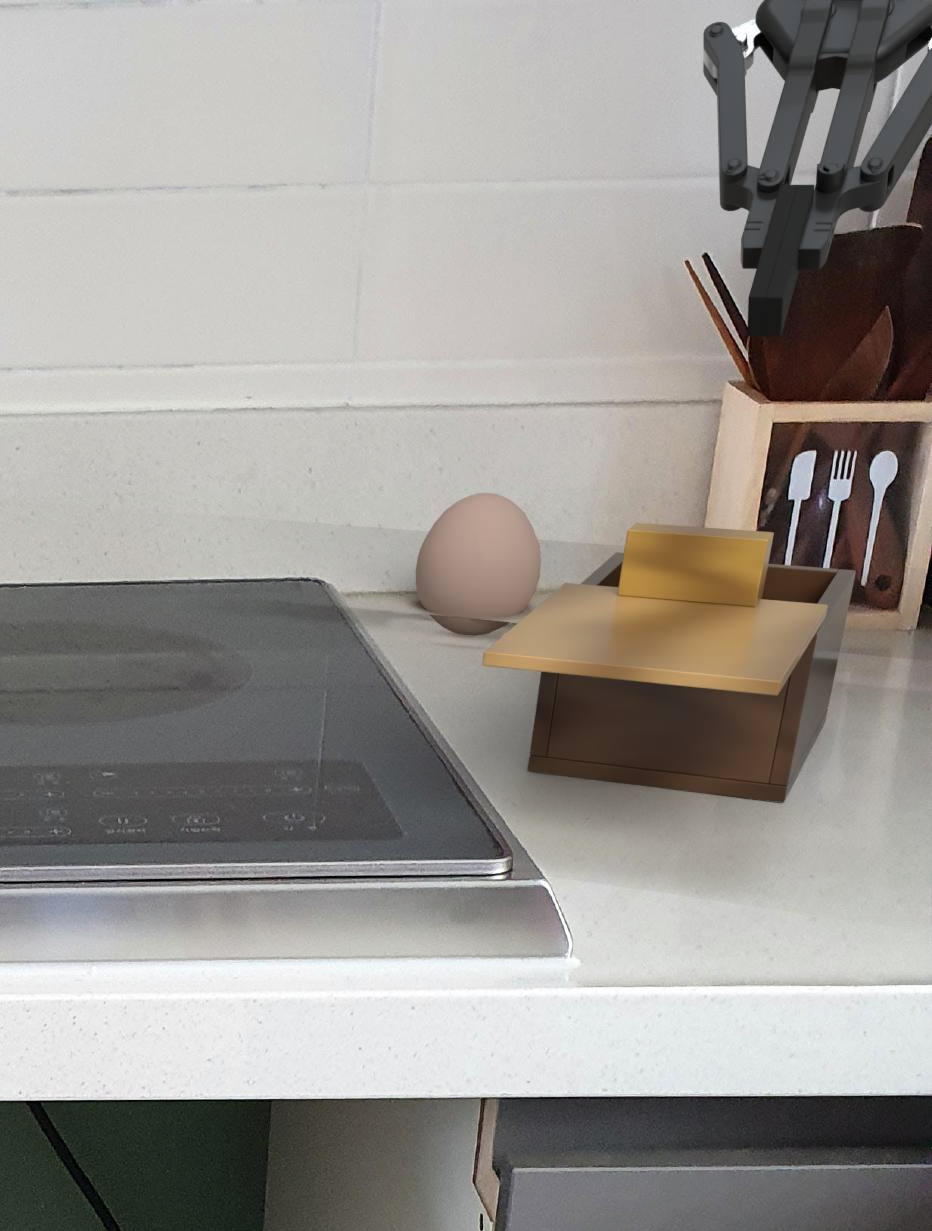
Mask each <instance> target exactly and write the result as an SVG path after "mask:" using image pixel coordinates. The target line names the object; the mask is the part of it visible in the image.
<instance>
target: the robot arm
mask: <svg viewBox="0 0 932 1231" xmlns="http://www.w3.org/2000/svg"><path fill="white" fill-rule="evenodd" d="M754 17H755V18H753V19H750V20H748V21H746V22H744V23H741V24H739V25H738V26H735V27H733V28H731V26H730V25H729V24H728V23H727V22H724V21H716V22H713V23H711V24H708V25H707V26H706V27H705V29H704V31H703V36H702V37H703V38H702V40H703V41H702V42H703V49H702V50H703V52H702V55H703V56H702V58H703V59H702V60H703V61H702V65H703V66H702V72H703V76H704V77H705V79H706V81H707V82H708V84H709V86H710V88H711V89H712V91H713V92H714V94H715V96H716V108H717V110H716V111H717V113H716V114H717V143H718V144H717V146H718V181H719V182H718V184H719V187H718V188H719V205H720V208H721V209H722V210H724V211H726V212H735V211H738V210H740V209H744V210H746V211H748V214H747V217H746V221H745V224H744V228H743V231H742V235H741V238H740V264H741V268H742V269H744V270H748V269H750V270H755V272H754V277H753V279H752V283H751V287H750V291H749V295H748V298H747V300H748V302H747V303H748V304H747V329H746V330H747V331H746V332H747V333H746V336H747V337H754V338H755V337H756V338H782V334H783V331H784V327H785V322H786V320H787V317H788V313H789V309H790V306H791V301H792V298H793V295H794V291H795V287H796V284H797V280H798V278H799V277H798V276H799V273H800V271H820V270H821V269H822V268H823V267H824V265H825V264H826V263H827V261H828V260H827V259H828V256H829V253H830V249H831V245H832V242H833V239H834V235H835V231H836V227H837V223H838V221H839V219H840V218H841V216H842V215H844V214H845V213H847V212H849V211H851V210H855V209H859V210H860V211H862V212H865V213H872V212H876V211H878V210H880V209H881V208H882V207H883V206H884V205H885V204H886V202H887V200H888V199H889V197H890V195H891V194H892V192H893V190H894V188H895V187H896V185H897V184H898V182H899V181H900V179H901V177H902V175H903V174H904V172H905V170H906V168H907V167H908V166H909V164H910V162H911V160H912V158H913V157H914V155H915V154H916V152H917V150H918V149H919V147H920V145H921V143H922V142H923V140H924V139H925V137H926V135H927V133H928V132H929V130H930V128H931V126H932V0H762V2H761V3H760V4H759V6H758V7H757V10H756V13H755V16H754ZM926 46H927V48H926V49H927V50H926V55H925V56H924V58H923V59H922V61H921V63H920V65H919V66H918V68H917V70H916V72H915V73H914V75H913V76H912V78H911V80H910V81H909V83H908V85H907V86H906V87H905V90H904V91H903V93H902V95H901V96H900V98H899V100H898V101H897V103H896V105H895V106H894V108H893V110H892V111H891V113H890V115H889V116H888V118H887V120H886V121H885V123H884V124H883V126H882V128H881V129H880V131H879V133H878V134H877V136H876V138H875V140H874V141H873V143H872V144H871V146H870V147H869V149H868V151H867V153H866V155H865V156H864V158H863V160H862V161H861V164H860V165H858V166H855V164H856V160H857V155H858V152H859V148H860V144H861V142H862V137H863V134H864V129H865V126H866V123H867V118H868V114H869V113H870V112H871V109H872V105H873V102H874V98H875V94H876V91H877V87H878V83H879V82H881V81H883V80H885V79H886V78H888V77H889V76H890V75H892V74H893V73H894V72H895V71H897V70H898V69H899V68H900V67H901V66H903V65H904V64H906V63H907V61H909V60H910V59H911V58H912V57H914V56H915V55H917V53H918V52H920V51H922V50H923V49H924V48H925V47H926ZM759 48H760V49H761V51H762V53H763V54H764V55H765V56H766V58H767V59H768V60H769V62H770V63H771V65H772V66H773V67H774V69H775V71H776V72H777V73H778V75H779V76H780V77H781V79H782V80H783V81H784V83H783V87H782V90H781V93H780V97H779V100H778V104H777V107H776V110H775V114H774V118H773V121H772V124H771V128H770V131H769V135H768V138H767V142H766V144H765V148H764V151H763V155H762V159H761V162H760V166H759V167H757V166H756V167H755V166H752V165H750V164H749V161H748V160H749V158H748V157H749V156H748V129H747V128H748V127H747V96H746V94H747V93H746V76H747V75H748V74H747V73H748V71H749V69H751V67H753V65H754V62H755V52H756V50H757V49H759ZM830 89H831V90H832V89H835V90H839V93H838V96H837V100H836V103H835V106H834V111H833V114H832V117H831V121H830V125H829V129H828V132H827V136H826V140H825V143H824V147H823V151H822V154H821V158H820V161H819V163H816V176H815V184H792V181H793V177H794V174H795V171H796V167H797V165H798V160H799V158H800V153H801V150H802V147H803V143H804V140H805V136H806V133H807V129H808V127H809V123H810V118H811V116H812V114H813V113H814V110H815V107H816V105H817V101H818V98H819V94H820V92H821V91H826V90H830Z"/></svg>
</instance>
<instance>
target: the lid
mask: <svg viewBox="0 0 932 1231" xmlns="http://www.w3.org/2000/svg"><path fill="white" fill-rule="evenodd" d="M774 535H775V533H774V532H772V531H760V530H745V529H732V528H716V527H703V526H689V525H688V526H687V525H674V524H659V523H646V522H645V523H644V522H635V523H634V524H633V525H632V526H631V527H630V528H628V529H627V530H626V536H625V543H624V550H623V553H624V555H623V562H622V568H621V575H620V581H619V587H609V586H597V585H585V584H581V583H573V582H572V583H570V582H564V583H563V584H562V585H561V586H559V587H558V588H557V589H556V590H555V591H553V592H552V593H551V594H550V595H549V596H548V597H546V598H545V599H544V600H543V601H542V602H541V603H539V604H538V605H537V606H536V607H534V609H532V611H530V612H529V613H528V614H526V615H525V617H523V618H522V619H521V620H520V621H519V622H517V624H515V625H514V626H513V627H511V629H509V630H508V631H507V632H506V633H504V634H503V635H502V636H501V637H500V638H499V639H497V641H496V642H495V643H493V644H491V646H490V647H488V648H487V649H486V650H485V651H484V652H483V655H482V656H483V657H482V666H483V667H484V666H485V667H492V668H502V669H512V670H523V671H531V672H532V671H533V672H540V673H541V672H550V673H560V674H570V675H580V676H589V677H599V678H609V679H619V680H628V681H638V682H648V683H658V684H667V685H677V686H687V687H697V688H706V689H716V690H726V691H735V692H745V693H755V694H765V695H774V696H777V695H778V694H779V692H780V691H781V689H782V687H783V686H784V684H785V682H786V681H787V679H788V678H789V676H790V674H791V673H792V671H793V669H794V668H795V666H796V664H797V663H798V661H799V660H800V658H801V656H802V655H803V653H804V651H805V650H806V648H807V646H808V645H809V643H810V642H811V640H812V638H813V637H814V635H815V633H816V632H817V630H818V628H819V627H820V625H821V624H822V622H823V620H824V619H825V617H826V613H827V608H828V605H825V604H813V603H801V602H789V601H777V600H765V599H761V598H762V595H763V590H764V584H765V579H766V573H767V568H768V564H770V563H769V562H770V557H771V550H772V545H773V541H774Z"/></svg>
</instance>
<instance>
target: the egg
mask: <svg viewBox="0 0 932 1231" xmlns="http://www.w3.org/2000/svg"><path fill="white" fill-rule="evenodd" d="M541 557H542V556H541V547H540V543H539V540H538V538H537V535H536V532H535V530H534V527H533V525H532V523H531V521H530V519H529V518H528V516H527V514H526V512H525V511H524V510H523V509H522V508H521V507H519V505H518V504H516V503H515V502H514V501H512V500H511V499H509V498H507V497H505V496H504V495H501V494H498V493H492V492H478V493H473V494H471V495H468V496H465V497H463V498H461V499H459V500H457V501H456V502H455V503H453V504H451V505H450V506H449V507H448V508H447V509H445V510H444V511H443V513H441V514H440V516H439V517H438V518H437V519H436V521H434V523H433V525H432V526H431V528H430V529H429V531H428V533H427V534H426V536H425V538H424V540H423V541H422V543H421V547H420V549H419V552H418V555H417V560H416V565H415V587H416V592H417V596H418V598H419V601H420V604H421V605H422V607H423V608H424V609H425V610H426V611H428V612H431V613H434V614H429V616H430V617H431V618H432V620H434V621H435V622H436V623H437V624H438V625H439V626H441V627H442V628H444V629H445V630H447V631H449V632H451V633H453V634H457V635H461V636H471V637H472V636H473V637H476V636H485V635H487V634H491V633H493V632H496V631H497V630H500V629H502V628H504V627H506V626H507V625H508V624H509V623H510V621H503V620H492V619H498V618H508V617H514V616H516V615H520V614H521V613H522V612H523V611H524V610H525V609H526V607H527V606H528V605H529V604H530V602H531V600H532V599H533V597H534V595H535V593H536V592H537V588H538V585H539V581H540V577H541V565H542V558H541Z"/></svg>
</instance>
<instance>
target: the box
mask: <svg viewBox="0 0 932 1231" xmlns="http://www.w3.org/2000/svg"><path fill="white" fill-rule="evenodd" d="M623 555H624V552H619V551H615V553H613V554H612V555H611V556H610V557H609V558H607V560H605V561H604V562H603V563H602V564H601V565H600V566H598V568H596V569H595V570H594V571H593V572H592V573H591V574H589V576H587V577H586V578H585V579H584V580H583V581H582V582H580V584H585V585H597V586H609V587H619V581H620V575H621V568H622V562H623ZM856 574H857V571H856V570H854V569H844V568H843V569H842V568H840V569H838V568H830V567H818V566H817V567H815V566H803V565H793V564H792V565H791V564H790V565H789V564H779V563H777V564H776V563H768V568H767V573H766V579H765V584H764V590H763V595H762V598H761V599H765V600H777V601H789V602H801V603H813V604H825V605H828V608H827V613H826V617H825V619H824V620H823V622H822V624H821V625H820V627H819V628H818V630H817V632H816V633H815V635H814V637H813V638H812V640H811V642H810V643H809V645H808V646H807V648H806V650H805V651H804V653H803V655H802V656H801V658H800V660H799V661H798V663H797V664H796V666H795V668H794V669H793V671H792V673H791V674H790V676H789V678H788V679H787V681H786V682H785V684H784V686H783V687H782V689H781V691H780V692H779V694H778V695H777V696H774V695H765V694H755V693H745V692H735V691H726V690H716V689H706V688H697V687H687V686H677V685H667V684H658V683H648V682H638V681H628V680H619V679H609V678H599V677H589V676H580V675H570V674H560V673H550V672H541V671H540V677H539V684H538V691H537V699H536V705H535V713H534V719H533V720H534V721H533V728H532V734H531V741H530V748H529V756H528V763H527V769H526V770H527V771H528V772H531V773H540V774H546V775H547V774H549V775H556V776H563V777H571V778H572V777H573V778H579V779H587V780H588V779H589V780H596V781H597V780H598V781H605V782H612V783H620V784H628V785H629V784H630V785H637V786H644V787H645V786H646V787H652V788H653V787H654V788H661V789H669V790H678V791H685V792H694V793H700V794H701V793H702V794H710V795H718V796H725V797H726V796H727V797H733V798H741V799H749V798H752V799H751V800H757V799H760V800H759V801H765V800H769V801H768V802H773V801H778V802H777V803H781V802H783V803H785V801H786V800H787V797H788V796H789V794H790V792H791V790H792V788H793V786H794V784H795V782H796V780H797V778H798V776H799V774H800V772H801V770H802V768H803V766H804V765H805V762H806V760H807V758H808V757H809V755H810V752H811V750H812V748H813V747H814V745H815V743H816V740H817V739H818V737H819V736H820V733H821V731H822V729H823V727H824V725H825V723H826V721H827V716H828V711H829V709H828V708H829V706H830V700H831V695H832V691H833V685H834V680H835V676H836V671H837V666H838V661H839V656H840V652H841V647H842V641H843V637H844V632H845V626H846V622H847V618H848V612H849V607H850V602H851V597H852V593H853V587H854V582H855V578H856ZM779 801H781V802H779Z"/></svg>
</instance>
